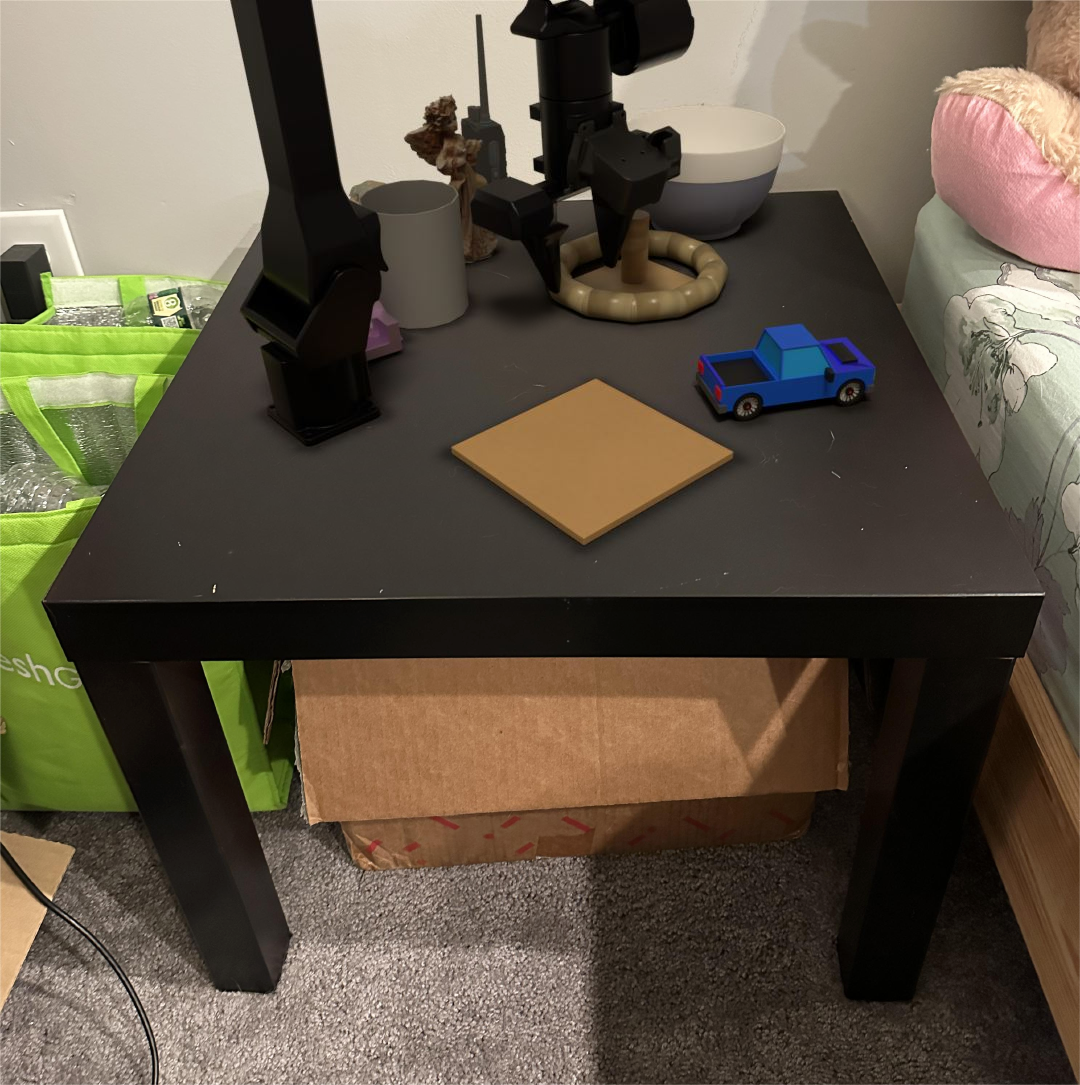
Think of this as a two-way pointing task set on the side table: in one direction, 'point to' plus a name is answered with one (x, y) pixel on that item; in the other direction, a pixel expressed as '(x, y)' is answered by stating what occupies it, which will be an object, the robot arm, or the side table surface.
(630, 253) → the ring toss peg
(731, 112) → the bowl
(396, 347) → the purple jagged faceted chunk
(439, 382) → the side table surface
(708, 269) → the segmented tan ring
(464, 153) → the figurine
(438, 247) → the cup
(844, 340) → the toy car
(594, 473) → the mat
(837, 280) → the side table surface
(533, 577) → the side table surface
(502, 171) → the walkie-talkie
